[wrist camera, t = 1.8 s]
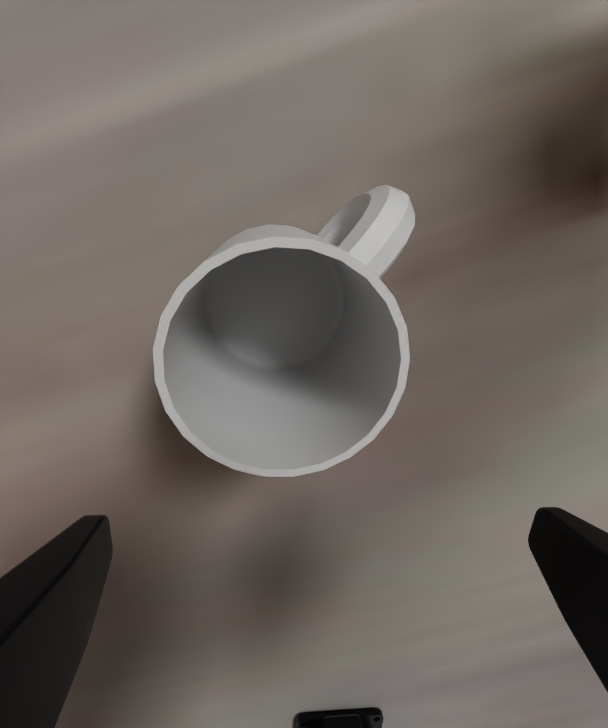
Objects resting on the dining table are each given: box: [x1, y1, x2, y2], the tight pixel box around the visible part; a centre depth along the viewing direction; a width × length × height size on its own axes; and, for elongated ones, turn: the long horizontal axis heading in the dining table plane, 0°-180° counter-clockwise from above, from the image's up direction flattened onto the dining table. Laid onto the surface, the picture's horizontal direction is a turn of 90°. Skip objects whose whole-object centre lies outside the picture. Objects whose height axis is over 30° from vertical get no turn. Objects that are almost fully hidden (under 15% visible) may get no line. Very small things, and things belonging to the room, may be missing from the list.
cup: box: [153, 185, 415, 477], centre depth 16 cm, size 7×10×9 cm
